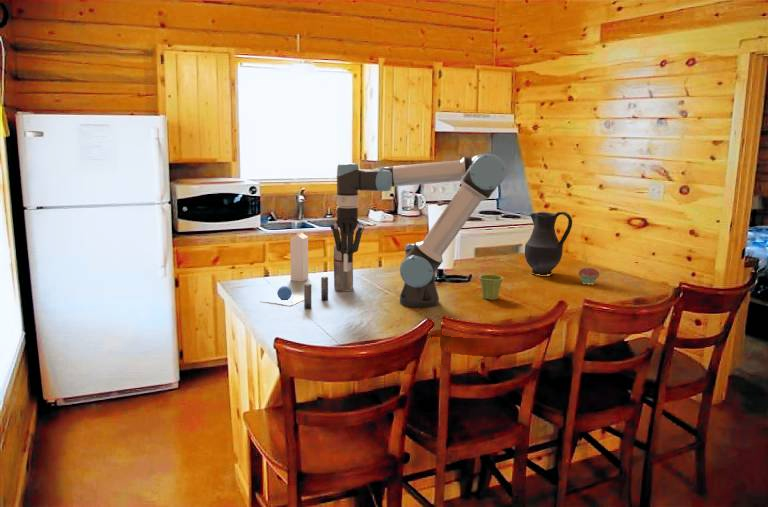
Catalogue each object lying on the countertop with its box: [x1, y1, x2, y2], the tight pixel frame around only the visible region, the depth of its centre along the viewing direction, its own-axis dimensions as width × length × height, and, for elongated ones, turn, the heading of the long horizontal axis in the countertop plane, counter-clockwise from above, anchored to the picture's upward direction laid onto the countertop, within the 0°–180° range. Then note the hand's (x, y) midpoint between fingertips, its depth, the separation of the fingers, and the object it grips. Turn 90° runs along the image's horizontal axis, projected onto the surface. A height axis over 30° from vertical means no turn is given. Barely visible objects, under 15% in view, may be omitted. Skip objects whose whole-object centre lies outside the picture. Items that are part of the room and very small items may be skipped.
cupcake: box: [578, 258, 600, 284], centre depth 270 cm, size 9×8×12 cm
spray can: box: [333, 244, 354, 292], centre depth 253 cm, size 8×8×20 cm
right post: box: [320, 276, 329, 302], centre depth 238 cm, size 3×3×9 cm
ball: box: [276, 285, 293, 300], centre depth 237 cm, size 6×6×6 cm
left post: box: [303, 283, 312, 310], centre depth 227 cm, size 3×3×9 cm
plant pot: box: [478, 274, 504, 301], centre depth 245 cm, size 9×9×9 cm
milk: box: [289, 228, 309, 282], centre depth 268 cm, size 6×6×22 cm
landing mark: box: [281, 294, 304, 306], centre depth 239 cm, size 14×14×1 cm
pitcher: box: [524, 211, 573, 275], centre depth 284 cm, size 17×21×30 cm
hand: (347, 270), depth 225 cm, fingers closed
